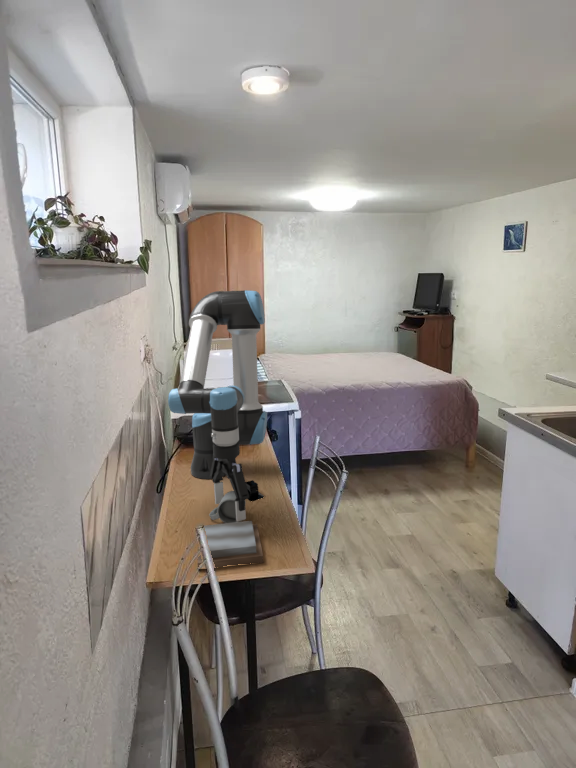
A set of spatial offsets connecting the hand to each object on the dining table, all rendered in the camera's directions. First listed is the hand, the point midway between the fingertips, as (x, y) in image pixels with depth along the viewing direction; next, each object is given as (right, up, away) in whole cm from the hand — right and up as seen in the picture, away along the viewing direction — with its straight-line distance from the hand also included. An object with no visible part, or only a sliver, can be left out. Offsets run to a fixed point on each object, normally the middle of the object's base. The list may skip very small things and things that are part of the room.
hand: (229, 511), depth 145 cm
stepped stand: (+2, -6, -16) cm, 17 cm away
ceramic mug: (-1, -2, +1) cm, 3 cm away
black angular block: (+5, +1, +16) cm, 17 cm away
